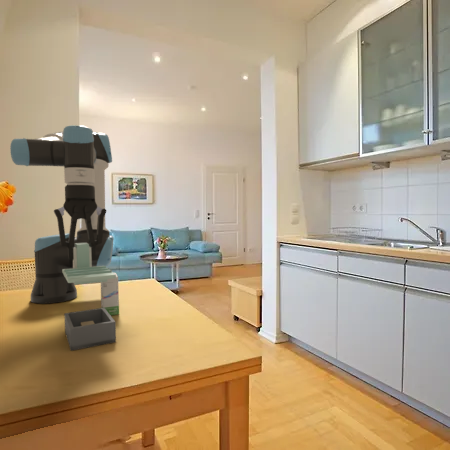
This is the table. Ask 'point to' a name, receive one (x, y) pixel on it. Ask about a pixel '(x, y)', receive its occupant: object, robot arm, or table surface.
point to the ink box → (110, 295)
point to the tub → (89, 328)
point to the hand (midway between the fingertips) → (82, 270)
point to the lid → (86, 269)
